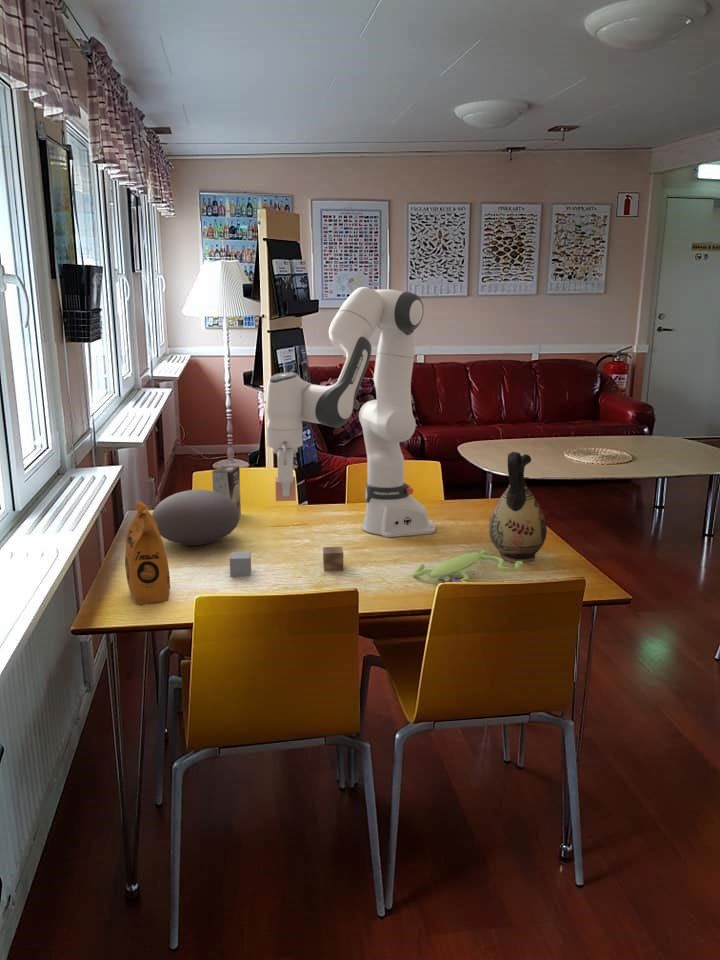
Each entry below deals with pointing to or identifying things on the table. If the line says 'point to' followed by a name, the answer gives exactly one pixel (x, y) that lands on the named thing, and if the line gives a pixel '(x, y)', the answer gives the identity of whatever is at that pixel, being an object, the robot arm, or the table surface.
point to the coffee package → (146, 559)
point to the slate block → (240, 564)
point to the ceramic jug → (517, 516)
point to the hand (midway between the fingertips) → (285, 492)
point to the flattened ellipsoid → (196, 517)
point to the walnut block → (333, 558)
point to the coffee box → (228, 483)
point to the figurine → (462, 566)
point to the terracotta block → (279, 491)
